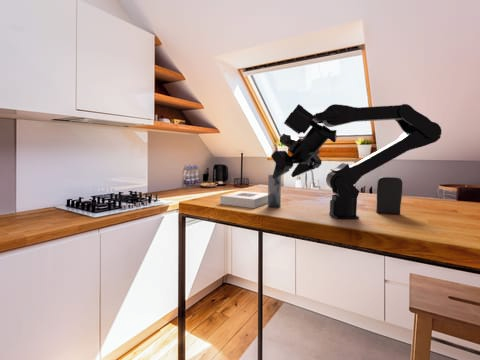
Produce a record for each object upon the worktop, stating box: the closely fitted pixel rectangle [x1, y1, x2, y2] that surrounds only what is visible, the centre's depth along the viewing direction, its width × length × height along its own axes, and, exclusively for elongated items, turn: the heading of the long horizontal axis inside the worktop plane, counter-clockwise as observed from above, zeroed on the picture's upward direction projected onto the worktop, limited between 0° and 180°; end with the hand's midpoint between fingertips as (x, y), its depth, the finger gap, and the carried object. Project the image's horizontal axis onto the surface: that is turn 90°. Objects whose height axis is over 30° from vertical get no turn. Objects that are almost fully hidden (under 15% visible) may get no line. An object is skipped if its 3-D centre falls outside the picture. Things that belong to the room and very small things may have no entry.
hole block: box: [219, 190, 268, 209], centre depth 101 cm, size 14×14×3 cm
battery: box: [375, 176, 404, 215], centre depth 85 cm, size 7×4×11 cm, turn 69°
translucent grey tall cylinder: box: [267, 174, 282, 209], centre depth 94 cm, size 4×4×11 cm
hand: (283, 177), depth 90 cm, fingers open, 9 cm apart
